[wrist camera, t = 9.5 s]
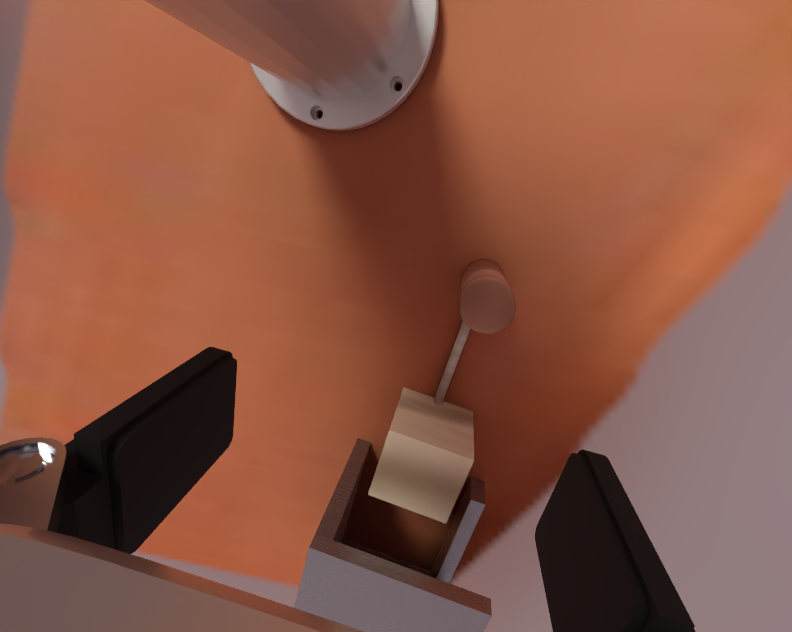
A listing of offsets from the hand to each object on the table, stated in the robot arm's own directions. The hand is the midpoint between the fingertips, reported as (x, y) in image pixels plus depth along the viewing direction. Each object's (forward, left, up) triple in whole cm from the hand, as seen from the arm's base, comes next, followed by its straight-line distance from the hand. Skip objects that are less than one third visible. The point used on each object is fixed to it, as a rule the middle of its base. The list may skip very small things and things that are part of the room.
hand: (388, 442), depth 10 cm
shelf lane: (+22, +3, -19) cm, 29 cm away
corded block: (+6, +3, -19) cm, 20 cm away
